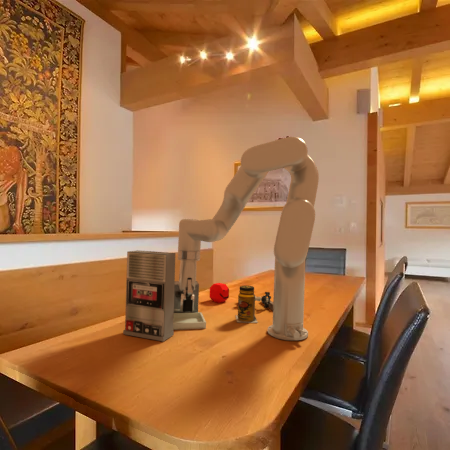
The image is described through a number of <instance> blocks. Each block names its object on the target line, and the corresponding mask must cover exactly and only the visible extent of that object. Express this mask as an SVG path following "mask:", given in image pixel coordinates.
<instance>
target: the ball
mask: <svg viewBox="0 0 450 450" xmlns="http://www.w3.org/2000/svg"><path fill="white" fill-rule="evenodd" d="M209 299H210V300H211V301H212V302H214V303H218V304H219V303H220V304H221V303H225V302H226V301H227V300H228V299H230V289H229V286H228V285H227V284H226V283H223V282H216V283H212V285H211V286H210V287H209Z"/></svg>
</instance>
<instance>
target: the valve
mask: <svg viewBox="0 0 450 450" xmlns="http://www.w3.org/2000/svg"><path fill="white" fill-rule="evenodd" d="M270 295H271V292H269V291H265V292H264V295H262V296H263V297H262V298H261V296H256V295H255V302H256V301H257V302H261V301H262V302H263V303H262V302H261V303H262V304H263V308H265V309H267V308H268V309H270V308H269V303H270V302H271V301H272V300H271V299H272V295H271V296H270ZM270 300H271V301H270ZM266 302H268V303H266ZM264 304H265V305H264Z"/></svg>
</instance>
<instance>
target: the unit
mask: <svg viewBox="0 0 450 450" xmlns="http://www.w3.org/2000/svg"><path fill="white" fill-rule="evenodd" d="M182 293H183V290H182V291H181V290H180V288H179V280H177V281H175V285H174V313H196V312H199V302H200V301H199V300H200V299H199V295H200V294H199V293H200V284H199V282H198V281H197V280H196V285H195V290H194V291H193V294H195V295H194V308H193V311H192V312H183V311H180V304H181V294H182Z"/></svg>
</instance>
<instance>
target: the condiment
mask: <svg viewBox="0 0 450 450" xmlns="http://www.w3.org/2000/svg"><path fill="white" fill-rule="evenodd" d="M237 296H238V297H237V298H238V299H237V314H236V315H235V320H236V323H243V324H247V323H248V324H249V323H251V324H252V323H259V322H258V319H257V317H256V315H255V313H256V312H255V310H256V301H255V296H256V294H255V287H254V286H253V285H241V286H239V293H238V295H237Z"/></svg>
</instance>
